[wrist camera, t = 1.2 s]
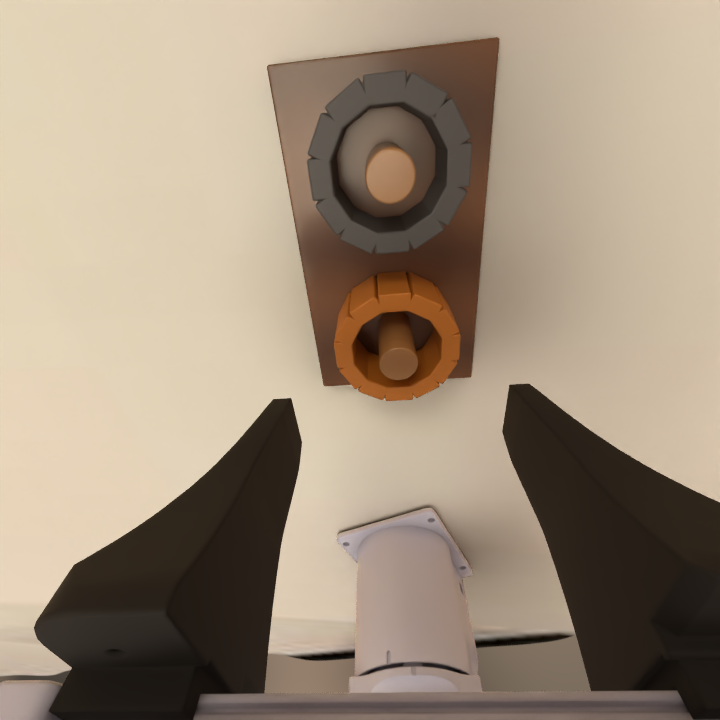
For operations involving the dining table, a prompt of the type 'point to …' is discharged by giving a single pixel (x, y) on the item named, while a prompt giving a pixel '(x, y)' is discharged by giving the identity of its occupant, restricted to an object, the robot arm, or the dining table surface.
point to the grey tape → (448, 162)
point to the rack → (388, 194)
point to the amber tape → (392, 297)
